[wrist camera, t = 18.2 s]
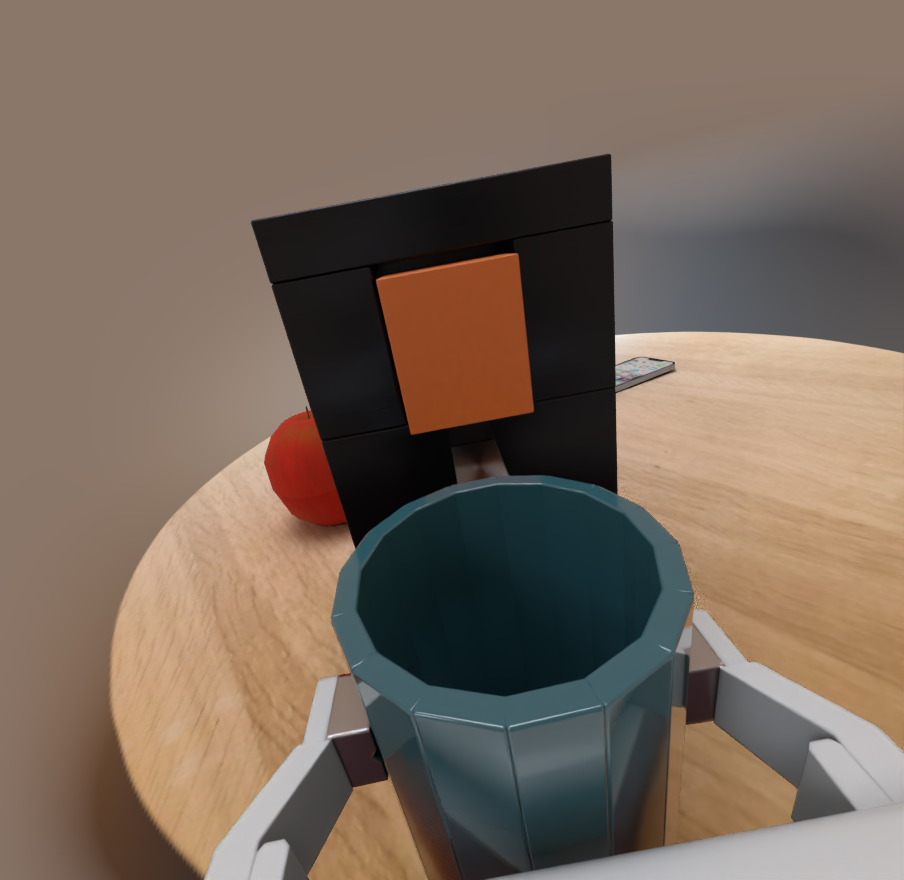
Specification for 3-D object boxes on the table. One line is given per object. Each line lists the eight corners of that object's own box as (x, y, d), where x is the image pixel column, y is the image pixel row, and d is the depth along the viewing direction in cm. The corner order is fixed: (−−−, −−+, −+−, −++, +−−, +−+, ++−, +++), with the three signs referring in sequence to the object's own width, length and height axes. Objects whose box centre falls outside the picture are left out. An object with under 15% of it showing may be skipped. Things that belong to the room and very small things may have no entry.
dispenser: (664, 753, 19) (693, 108, 10) (402, 801, 19) (178, 205, 10) (564, 551, 33) (535, 194, 23) (409, 579, 33) (316, 234, 23)
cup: (733, 852, 11) (780, 570, 7) (514, 1105, 8) (422, 852, 5) (550, 661, 16) (527, 451, 13) (386, 774, 14) (301, 547, 10)
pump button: (534, 412, 15) (518, 252, 13) (410, 435, 15) (375, 279, 13) (516, 388, 18) (501, 253, 16) (412, 407, 18) (383, 275, 16)
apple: (395, 480, 48) (370, 381, 43) (379, 535, 39) (345, 417, 34) (308, 492, 49) (274, 396, 44) (272, 549, 40) (225, 435, 35)
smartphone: (566, 382, 66) (639, 356, 71) (566, 389, 66) (639, 362, 71) (601, 392, 60) (678, 362, 64) (601, 400, 60) (678, 369, 65)
